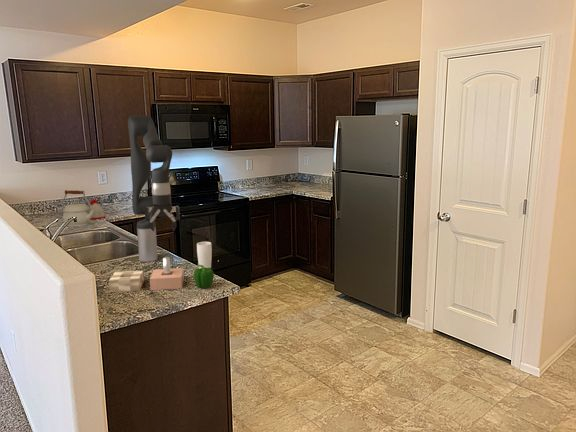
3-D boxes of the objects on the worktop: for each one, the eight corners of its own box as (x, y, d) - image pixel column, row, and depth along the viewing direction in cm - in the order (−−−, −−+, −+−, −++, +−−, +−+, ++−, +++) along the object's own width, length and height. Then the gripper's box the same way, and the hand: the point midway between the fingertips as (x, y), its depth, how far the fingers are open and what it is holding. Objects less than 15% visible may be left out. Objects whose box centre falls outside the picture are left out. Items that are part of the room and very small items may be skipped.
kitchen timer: (81, 219, 340) (80, 200, 337) (94, 216, 353) (92, 197, 350) (97, 220, 336) (95, 200, 333) (109, 217, 349) (107, 198, 346)
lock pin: (164, 283, 196) (163, 257, 194) (171, 282, 197) (170, 256, 195) (163, 285, 194) (162, 259, 191) (170, 285, 194) (169, 258, 192)
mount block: (115, 282, 198) (115, 271, 197) (143, 281, 199) (143, 270, 198) (109, 292, 186) (108, 280, 185) (139, 290, 188) (138, 279, 187)
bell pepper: (217, 284, 195) (216, 262, 193) (209, 290, 187) (208, 267, 185) (199, 282, 197) (198, 261, 195) (191, 289, 189) (190, 266, 187)
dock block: (154, 280, 201) (153, 269, 200) (183, 278, 203) (183, 268, 202) (150, 290, 188) (149, 278, 187) (181, 288, 190) (181, 277, 189)
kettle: (55, 226, 313) (51, 191, 309) (72, 221, 331) (68, 188, 326) (87, 228, 309) (84, 192, 305) (102, 222, 327) (100, 189, 322)
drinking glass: (207, 271, 213) (206, 240, 210) (215, 274, 208) (214, 243, 205) (195, 274, 208) (193, 243, 206) (203, 277, 204) (202, 245, 201)
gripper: (179, 191, 193) (181, 227, 196) (145, 192, 191) (147, 229, 194) (178, 193, 186) (179, 231, 189) (142, 194, 184) (145, 233, 187)
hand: (163, 230), depth 192 cm, fingers open, 8 cm apart
